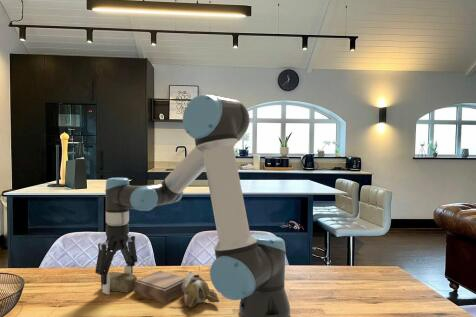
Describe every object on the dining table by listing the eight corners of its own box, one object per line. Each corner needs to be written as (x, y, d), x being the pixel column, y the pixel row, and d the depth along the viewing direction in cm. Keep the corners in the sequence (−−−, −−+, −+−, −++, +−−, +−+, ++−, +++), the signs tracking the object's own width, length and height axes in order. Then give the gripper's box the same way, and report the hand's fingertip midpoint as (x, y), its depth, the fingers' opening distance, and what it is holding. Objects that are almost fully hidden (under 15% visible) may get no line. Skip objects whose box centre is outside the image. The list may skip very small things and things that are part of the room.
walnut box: (189, 290, 122) (189, 278, 122) (164, 303, 112) (164, 290, 112) (159, 281, 130) (159, 269, 129) (134, 292, 120) (134, 280, 119)
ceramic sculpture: (204, 264, 123) (221, 282, 109) (204, 288, 124) (221, 309, 110) (174, 269, 118) (188, 288, 105) (174, 294, 119) (188, 316, 105)
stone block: (128, 294, 119) (128, 279, 118) (99, 290, 122) (99, 275, 122) (138, 287, 124) (138, 273, 124) (110, 283, 128) (110, 270, 127)
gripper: (133, 216, 132) (133, 276, 133) (82, 227, 114) (82, 296, 116) (148, 219, 128) (148, 280, 129) (97, 231, 110) (97, 302, 112)
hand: (117, 288), depth 122 cm, fingers open, 8 cm apart
